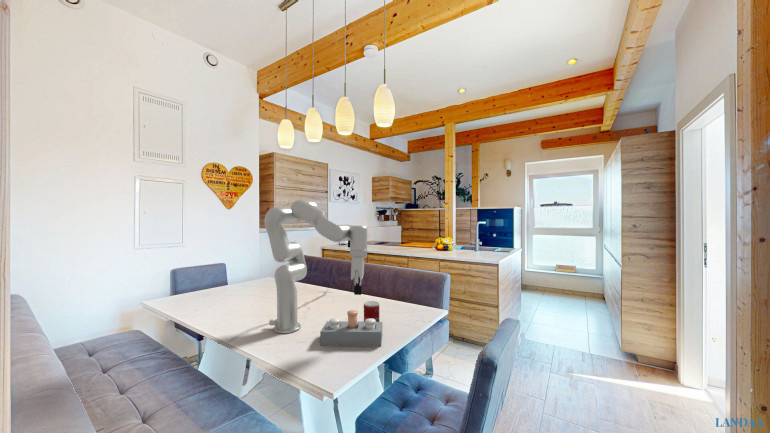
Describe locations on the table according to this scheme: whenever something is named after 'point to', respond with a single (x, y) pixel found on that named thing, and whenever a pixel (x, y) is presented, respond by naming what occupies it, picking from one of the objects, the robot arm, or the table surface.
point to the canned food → (371, 310)
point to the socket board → (351, 335)
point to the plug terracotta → (352, 319)
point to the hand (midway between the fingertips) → (357, 294)
